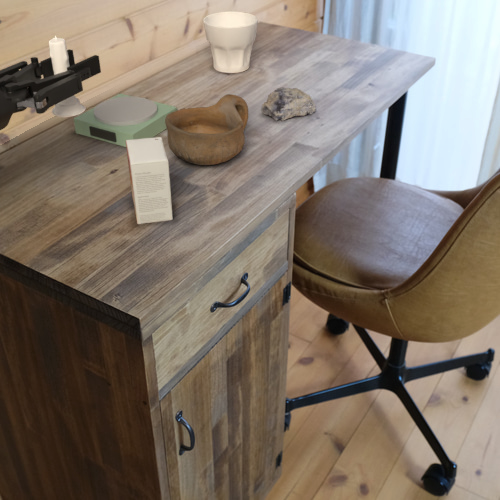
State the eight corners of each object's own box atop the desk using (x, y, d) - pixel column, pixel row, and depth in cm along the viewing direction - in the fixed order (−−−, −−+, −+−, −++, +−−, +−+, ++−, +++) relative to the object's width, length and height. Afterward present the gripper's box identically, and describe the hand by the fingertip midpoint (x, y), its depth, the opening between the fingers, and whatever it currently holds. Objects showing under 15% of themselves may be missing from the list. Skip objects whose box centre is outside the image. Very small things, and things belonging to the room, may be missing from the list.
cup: (194, 70, 150) (192, 22, 144) (222, 54, 159) (221, 8, 152) (241, 80, 145) (240, 30, 139) (267, 63, 154) (268, 15, 147)
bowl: (191, 118, 125) (202, 72, 119) (256, 148, 124) (270, 103, 117) (146, 157, 112) (156, 107, 105) (218, 192, 110) (232, 143, 104)
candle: (48, 107, 105) (34, 33, 98) (80, 101, 107) (68, 28, 100) (56, 120, 102) (42, 44, 95) (89, 113, 104) (78, 38, 97)
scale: (74, 133, 123) (71, 115, 121) (121, 107, 133) (119, 89, 131) (133, 150, 118) (131, 131, 115) (177, 121, 128) (176, 103, 126)
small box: (132, 198, 104) (124, 139, 98) (167, 194, 105) (161, 135, 99) (136, 225, 98) (128, 163, 92) (173, 221, 99) (168, 159, 93)
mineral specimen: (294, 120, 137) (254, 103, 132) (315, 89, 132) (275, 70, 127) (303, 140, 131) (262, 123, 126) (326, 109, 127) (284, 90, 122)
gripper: (-67, 124, 94) (48, 73, 110) (23, 152, 87) (131, 93, 103) (-82, 74, 89) (40, 28, 106) (11, 99, 82) (126, 46, 99)
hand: (84, 60), depth 104 cm, fingers closed on candle, 5 cm apart
